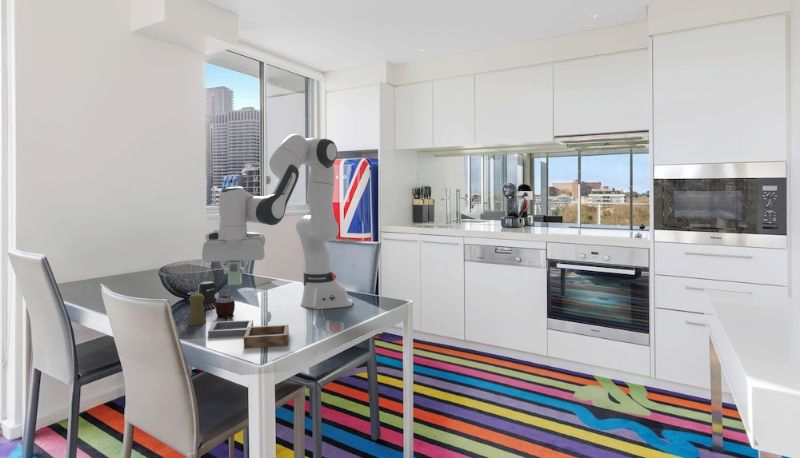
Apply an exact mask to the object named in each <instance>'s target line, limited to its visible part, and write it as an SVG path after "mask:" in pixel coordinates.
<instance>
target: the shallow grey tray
mask: <svg viewBox="0 0 800 458" xmlns="http://www.w3.org/2000/svg"><path fill="white" fill-rule="evenodd" d="M248 327H254V319H243V320H241V319H240V320H227V321H226V320H225V321H223V320H222V321H214V322H213V323H212V325H211V326H210V328H209V329H208V331H207V337H208V338H212V339H213V338H228V337H230V338H231V337H244V335H245V333H246V330H247V328H248Z"/></svg>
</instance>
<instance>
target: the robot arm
mask: <svg viewBox="0 0 800 458" xmlns="http://www.w3.org/2000/svg"><path fill="white" fill-rule="evenodd" d="M337 148H338V147H337V146H336V143H335V142H334V141H333V140H331V139H329V138H328V139H327V138H317V137H310V138H305V137H304V136H302V135H300V134H297V133H293V134H290V135H288V136H287V137H286V138H285V139H284V140H283V141H282V142H281V143H280V144H279V145H278V147H276V149H275V151H273V153H272V154H271V156H270V159H269V162H268V165H269V169H270V171H271V172H272V174H273V175H274V176H275V177H277V178H278V179H279V180H278V182H277V184H276V186H275V188H274V190H273V191H272V193H270V194H269V195H264V196H263V195H262V196H259V195H254V194H252V193H250V192H248V191H247V190H246V189H245V188H244V187H243V186H235V185H234V186H228V187H224V188H223V189H221V190H220V192H219V196H218V197H219V198H218V213H219V217H220V222H219V227H218V228H219V229H214V230H213V231H210V232H208V233H206V234H205V236H204V238H205V242H204V243H203V245H202V249H201V250H202V251H201V259H202V261H203V262H206V263H207V262H208V263H209V262H219V265H220V266H221V268H222V269H223V274H224V275H228V267H226V266H225V264H226V262H228V261H241V262H242V261H243V267H241V269H240V271H241V272H240V273H241V274H246V267H247V266H248V264H249V261H262V260H263V259H265V257H266V254H265V248H264V247H265V245H266V237H265V236H264V235H263V234H261V233H257V232H256V233H248V224H247V223H252V224H264V225H269V226H275V225H278V224H279V223H280V222H281V221H282V220H283V218H284V217H285V213H286V211H287V210H286V209H287V205H288V202H289V200H290V198H291V196H292V194H293V192H294V190H295V188H296V185H297V183H298V180H299V178H300V171H299V169H300V168H301V166H302V165H304V166H309V167H310V171H309V174H308V182H307V191H306V193H307V195H306V202H307V204H308V207H309V213H310V214H306V215H304V216H301V217H300V218H299V219H298V220H297V222H296V224H295V229H296V232H297V234H298V235H299V239H300V242H301V247H302V252H303V264H304V265H303V267H304V270H303V275H302V284H303V293H302V298H301V302H300V305H301V306H302V307H304V308H309V309H314V310H324V309H325V310H326V309H334V308H335V309H336V308H347V307H351V306H353V304H354V303H353V299H352V298H351V297H348V296H349V295H348V291H347V289H346V288H345V287H344V286H343V285H342V284H340V283H339V282H338V281H336V279H337V275H336V273H334V272H331V256H330V252H329V251H328V248H327V245H326V243H327V242H331V241H334V240H335V239H336V238H337V237H338V235H339V232H340V228H339V227H340V226H339V224H338V222H337V220H336V217H335V212H334V211H335V210H334V204H333V203H334V202H333V200H334V190H335V177H336V176H335V165H334V164H335V161H336V159H337V158H338V157H337V156H338V149H337Z"/></svg>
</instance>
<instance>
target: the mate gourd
mask: <svg viewBox="0 0 800 458" xmlns="http://www.w3.org/2000/svg"><path fill="white" fill-rule="evenodd" d="M231 286H232V285H228V292H227V295H221V296H218V297H217V298H216V300H215V313H216V315H217V316H216V319H223V318H224V319H225V320H228V318H233V317H235V315H234V312H235V307H236V304H235V303H236V302H235V298H234V297H233V296H232V295H230V292H231Z"/></svg>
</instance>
